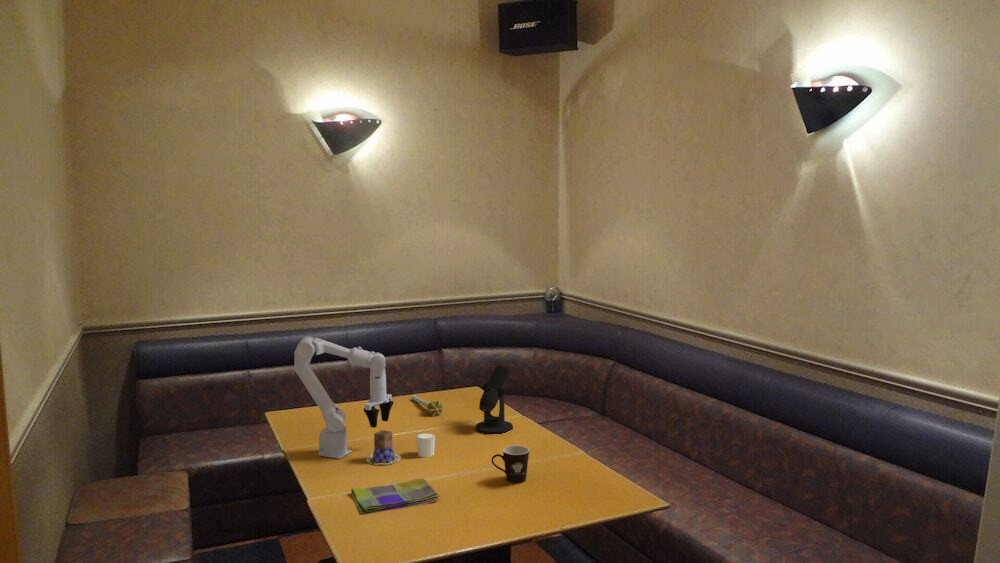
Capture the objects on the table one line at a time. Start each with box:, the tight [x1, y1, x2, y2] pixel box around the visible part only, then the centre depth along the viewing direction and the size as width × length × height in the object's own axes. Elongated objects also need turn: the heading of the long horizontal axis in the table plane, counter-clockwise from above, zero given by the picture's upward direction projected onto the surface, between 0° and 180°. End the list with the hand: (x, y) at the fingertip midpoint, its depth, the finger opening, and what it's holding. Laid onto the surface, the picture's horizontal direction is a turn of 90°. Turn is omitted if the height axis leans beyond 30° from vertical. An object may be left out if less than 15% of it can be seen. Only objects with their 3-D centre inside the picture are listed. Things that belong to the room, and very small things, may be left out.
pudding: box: [365, 445, 401, 466], centre depth 256 cm, size 12×12×5 cm
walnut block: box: [373, 429, 393, 449], centre depth 255 cm, size 4×4×5 cm
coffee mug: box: [491, 445, 530, 484], centre depth 238 cm, size 12×9×10 cm
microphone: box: [475, 364, 514, 435], centre depth 288 cm, size 15×17×25 cm
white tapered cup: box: [415, 432, 436, 458], centre depth 261 cm, size 7×7×7 cm
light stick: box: [410, 394, 444, 418], centre depth 317 cm, size 7×6×30 cm
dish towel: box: [351, 477, 440, 515], centre depth 224 cm, size 18×24×3 cm
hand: (379, 424), depth 263 cm, fingers open, 7 cm apart
